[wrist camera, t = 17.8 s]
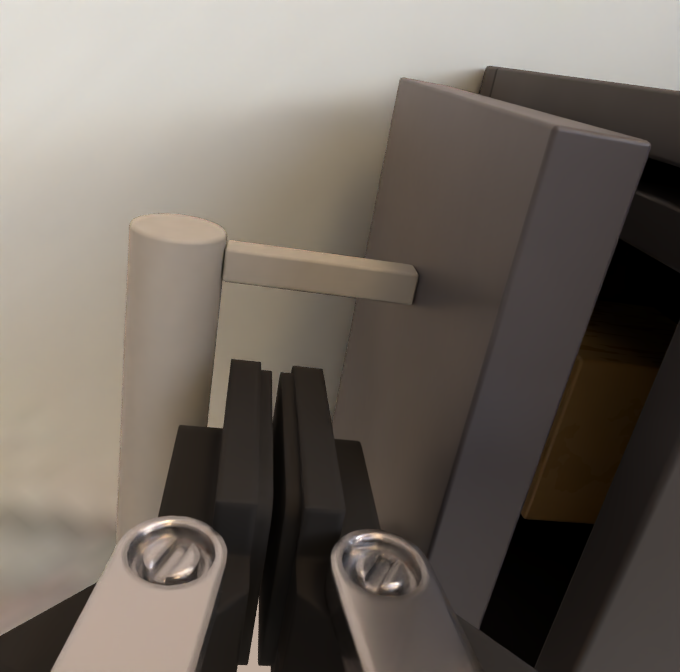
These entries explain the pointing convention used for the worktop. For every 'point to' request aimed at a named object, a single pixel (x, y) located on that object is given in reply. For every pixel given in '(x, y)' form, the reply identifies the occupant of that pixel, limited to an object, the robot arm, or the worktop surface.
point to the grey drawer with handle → (432, 332)
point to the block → (598, 411)
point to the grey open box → (643, 447)
